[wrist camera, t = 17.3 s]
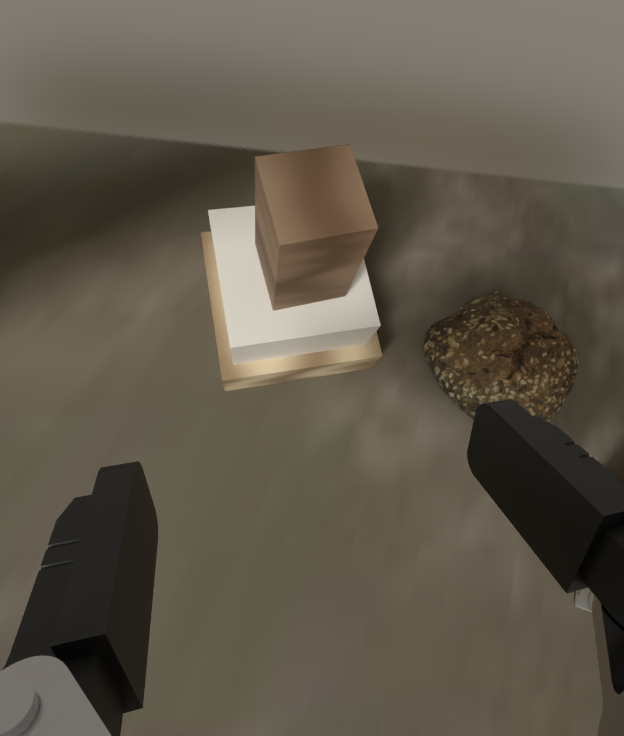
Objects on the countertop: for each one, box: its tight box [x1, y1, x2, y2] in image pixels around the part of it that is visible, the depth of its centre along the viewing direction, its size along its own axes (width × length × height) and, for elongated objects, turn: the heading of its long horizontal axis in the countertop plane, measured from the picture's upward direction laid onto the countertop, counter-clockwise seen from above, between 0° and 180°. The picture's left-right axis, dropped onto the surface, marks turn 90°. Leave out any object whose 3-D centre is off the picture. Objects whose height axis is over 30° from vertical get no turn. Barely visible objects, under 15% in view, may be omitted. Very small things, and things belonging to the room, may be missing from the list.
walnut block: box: [255, 144, 378, 311], centre depth 25 cm, size 5×5×8 cm
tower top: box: [208, 206, 381, 365], centre depth 30 cm, size 10×10×4 cm
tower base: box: [201, 231, 382, 391], centre depth 34 cm, size 12×12×4 cm
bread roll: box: [424, 291, 579, 423], centre depth 35 cm, size 13×12×5 cm
